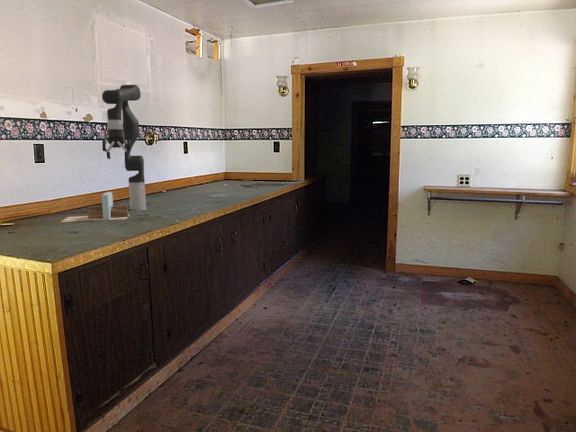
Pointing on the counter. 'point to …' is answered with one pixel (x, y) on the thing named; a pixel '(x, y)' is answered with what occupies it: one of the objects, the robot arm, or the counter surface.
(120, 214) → the walnut slotted plate
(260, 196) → the counter surface
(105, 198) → the slotted cross plate
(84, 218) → the birch board
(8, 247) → the counter surface
